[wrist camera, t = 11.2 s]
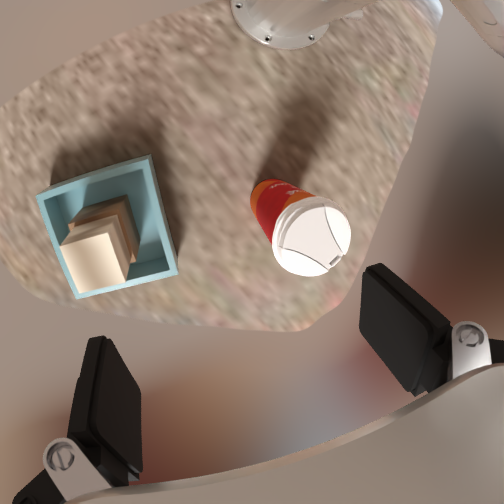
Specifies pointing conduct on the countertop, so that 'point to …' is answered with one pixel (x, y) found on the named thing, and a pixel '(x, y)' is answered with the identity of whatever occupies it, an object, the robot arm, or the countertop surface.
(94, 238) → the birch block
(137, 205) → the tote
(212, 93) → the countertop surface
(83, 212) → the walnut block
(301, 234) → the paper cup
